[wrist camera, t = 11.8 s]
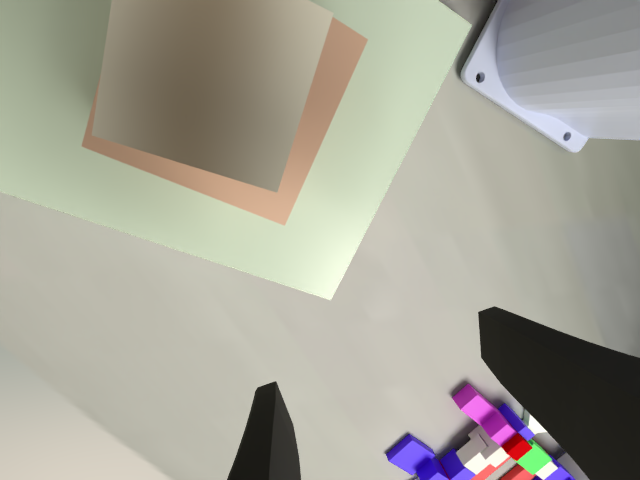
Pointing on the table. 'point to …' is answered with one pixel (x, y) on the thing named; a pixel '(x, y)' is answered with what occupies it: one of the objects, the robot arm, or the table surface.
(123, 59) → the top brick
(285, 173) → the base brick
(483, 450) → the building block set
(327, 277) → the base plate
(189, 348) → the table surface
